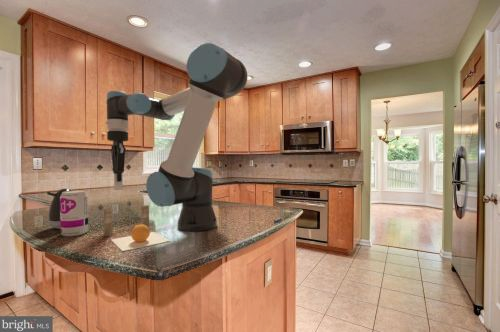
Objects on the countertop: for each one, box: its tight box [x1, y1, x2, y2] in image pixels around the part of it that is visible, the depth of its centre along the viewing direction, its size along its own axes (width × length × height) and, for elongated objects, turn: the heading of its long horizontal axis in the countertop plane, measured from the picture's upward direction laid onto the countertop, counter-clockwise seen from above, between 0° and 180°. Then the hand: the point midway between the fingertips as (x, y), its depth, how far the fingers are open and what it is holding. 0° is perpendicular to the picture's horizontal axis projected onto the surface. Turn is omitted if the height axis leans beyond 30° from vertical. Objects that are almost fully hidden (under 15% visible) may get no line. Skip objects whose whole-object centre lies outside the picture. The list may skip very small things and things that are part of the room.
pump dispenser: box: [46, 188, 72, 230], centre depth 98 cm, size 10×10×15 cm
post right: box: [141, 204, 150, 229], centre depth 96 cm, size 3×3×9 cm
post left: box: [103, 208, 114, 237], centre depth 88 cm, size 3×3×9 cm
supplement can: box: [59, 190, 89, 237], centre depth 90 cm, size 8×8×15 cm
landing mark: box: [110, 231, 170, 252], centre depth 82 cm, size 14×14×1 cm
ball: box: [130, 223, 151, 242], centre depth 81 cm, size 6×6×6 cm
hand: (118, 189), depth 102 cm, fingers closed
